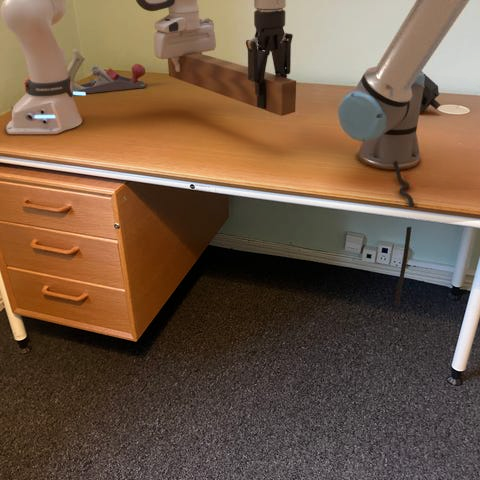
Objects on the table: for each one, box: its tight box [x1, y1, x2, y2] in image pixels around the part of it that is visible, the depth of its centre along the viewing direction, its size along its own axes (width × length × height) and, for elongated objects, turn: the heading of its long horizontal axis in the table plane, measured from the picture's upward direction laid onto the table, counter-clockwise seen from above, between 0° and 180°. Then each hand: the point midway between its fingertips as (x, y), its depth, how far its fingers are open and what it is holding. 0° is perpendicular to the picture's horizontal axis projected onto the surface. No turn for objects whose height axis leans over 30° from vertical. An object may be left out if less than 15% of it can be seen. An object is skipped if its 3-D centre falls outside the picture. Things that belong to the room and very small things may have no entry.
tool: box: [419, 70, 442, 114], centre depth 170 cm, size 6×19×15 cm, turn 51°
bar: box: [167, 52, 297, 117], centre depth 150 cm, size 53×5×8 cm, turn 39°
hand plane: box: [67, 48, 146, 94], centre depth 194 cm, size 7×31×15 cm, turn 107°
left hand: (187, 69), depth 163 cm, fingers closed on bar, 5 cm apart
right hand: (269, 105), depth 139 cm, fingers closed on bar, 5 cm apart
